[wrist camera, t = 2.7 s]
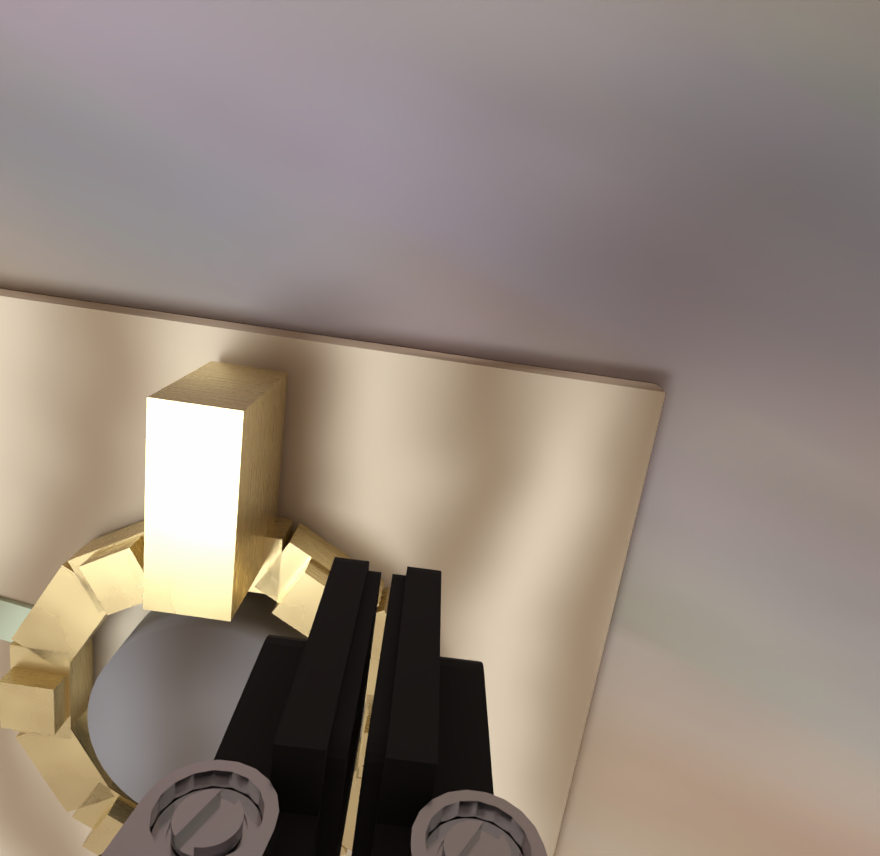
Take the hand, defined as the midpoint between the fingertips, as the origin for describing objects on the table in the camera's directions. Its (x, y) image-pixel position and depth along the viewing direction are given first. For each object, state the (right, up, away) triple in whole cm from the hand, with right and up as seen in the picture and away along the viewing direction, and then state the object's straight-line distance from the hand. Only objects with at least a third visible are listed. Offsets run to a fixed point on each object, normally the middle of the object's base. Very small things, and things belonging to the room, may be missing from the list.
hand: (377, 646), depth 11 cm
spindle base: (-7, -6, +16) cm, 18 cm away
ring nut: (-6, -4, +14) cm, 15 cm away
